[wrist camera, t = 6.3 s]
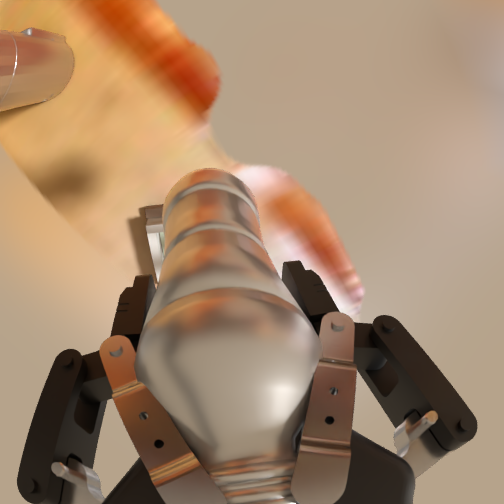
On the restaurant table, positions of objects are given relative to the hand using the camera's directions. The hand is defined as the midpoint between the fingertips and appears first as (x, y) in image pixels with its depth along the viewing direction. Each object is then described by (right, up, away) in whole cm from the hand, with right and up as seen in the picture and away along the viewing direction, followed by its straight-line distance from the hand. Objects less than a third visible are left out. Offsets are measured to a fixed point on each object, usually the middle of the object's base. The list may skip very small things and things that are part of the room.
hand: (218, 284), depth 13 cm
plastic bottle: (-2, +5, +8) cm, 10 cm away
